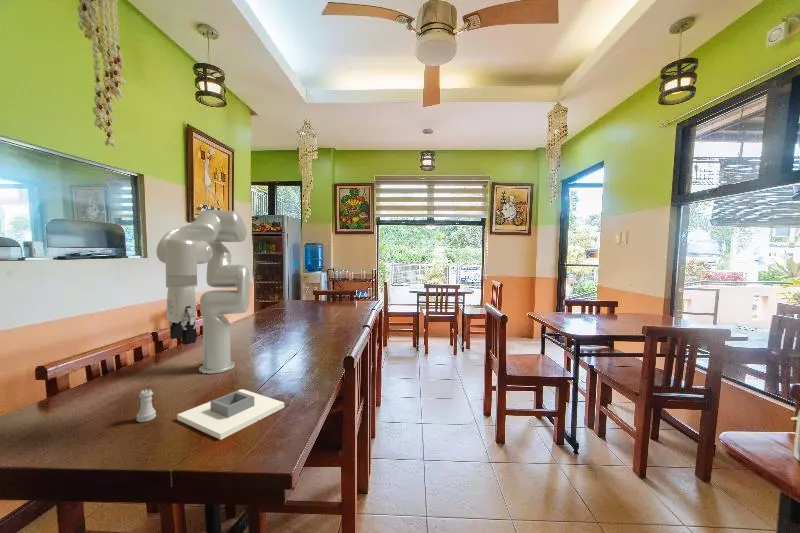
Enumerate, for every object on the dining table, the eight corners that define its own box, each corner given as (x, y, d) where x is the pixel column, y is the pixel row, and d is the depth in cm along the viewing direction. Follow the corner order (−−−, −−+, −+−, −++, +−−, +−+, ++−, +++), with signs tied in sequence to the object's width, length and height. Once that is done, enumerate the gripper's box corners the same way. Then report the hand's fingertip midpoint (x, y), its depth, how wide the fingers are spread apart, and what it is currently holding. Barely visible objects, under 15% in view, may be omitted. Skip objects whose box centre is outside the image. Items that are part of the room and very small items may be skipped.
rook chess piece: (160, 416, 93) (159, 388, 93) (143, 424, 89) (142, 395, 88) (149, 413, 94) (148, 386, 94) (132, 421, 90) (131, 392, 90)
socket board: (177, 419, 91) (177, 404, 91) (242, 393, 109) (242, 380, 108) (220, 439, 81) (220, 423, 81) (284, 407, 99) (284, 393, 99)
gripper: (157, 281, 97) (158, 338, 97) (176, 284, 86) (177, 348, 86) (186, 280, 102) (186, 334, 103) (207, 282, 91) (208, 343, 92)
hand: (182, 340), depth 94 cm, fingers open, 9 cm apart
